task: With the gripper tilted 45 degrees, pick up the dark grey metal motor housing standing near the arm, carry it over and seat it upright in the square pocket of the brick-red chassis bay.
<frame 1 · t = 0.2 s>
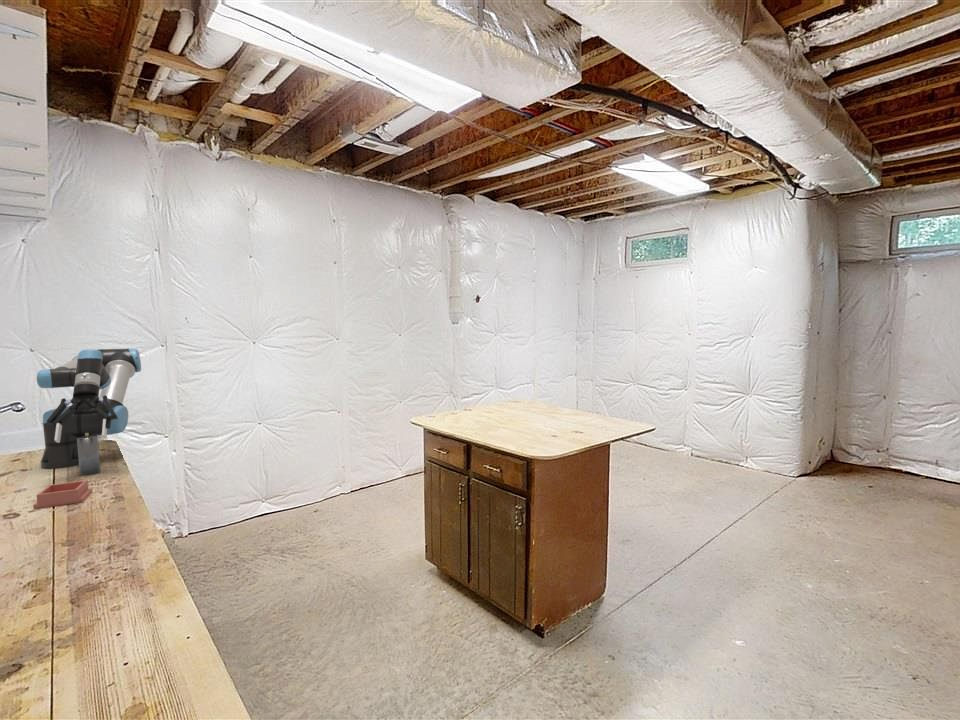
hand: (81, 439, 171), 15 cm above the workbench, tool tilted 35°, fingers open, 13 cm apart
chassis bay: (64, 499, 152), on the workbench
motor housing: (90, 472, 179), on the workbench
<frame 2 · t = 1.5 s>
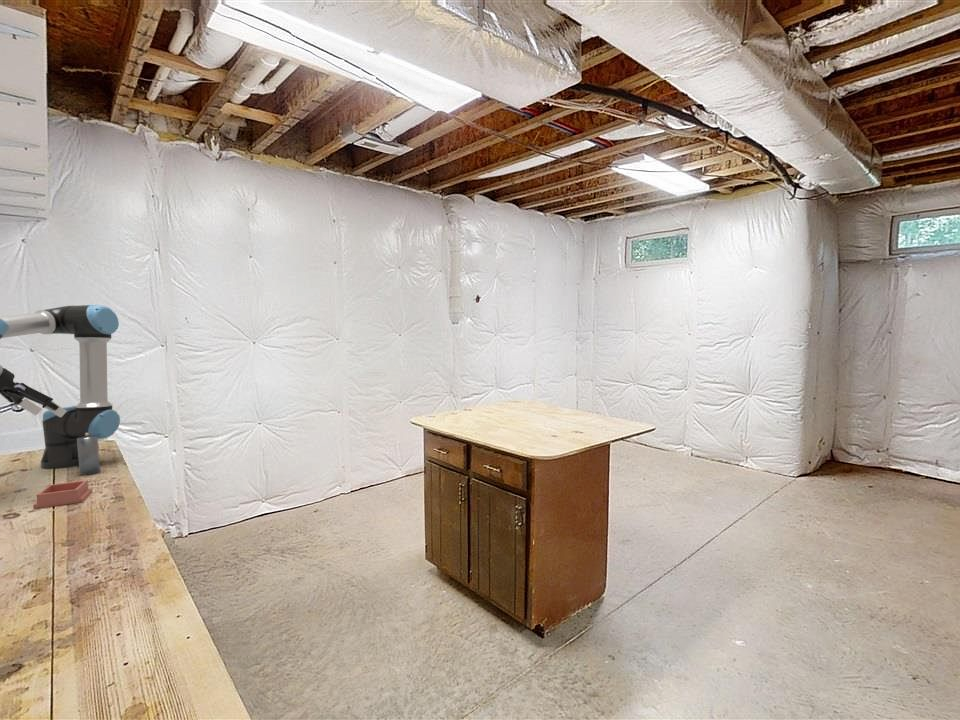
hand: (51, 413, 167), 25 cm above the workbench, tool tilted 45°, fingers open, 13 cm apart
nothing on the workbench moved.
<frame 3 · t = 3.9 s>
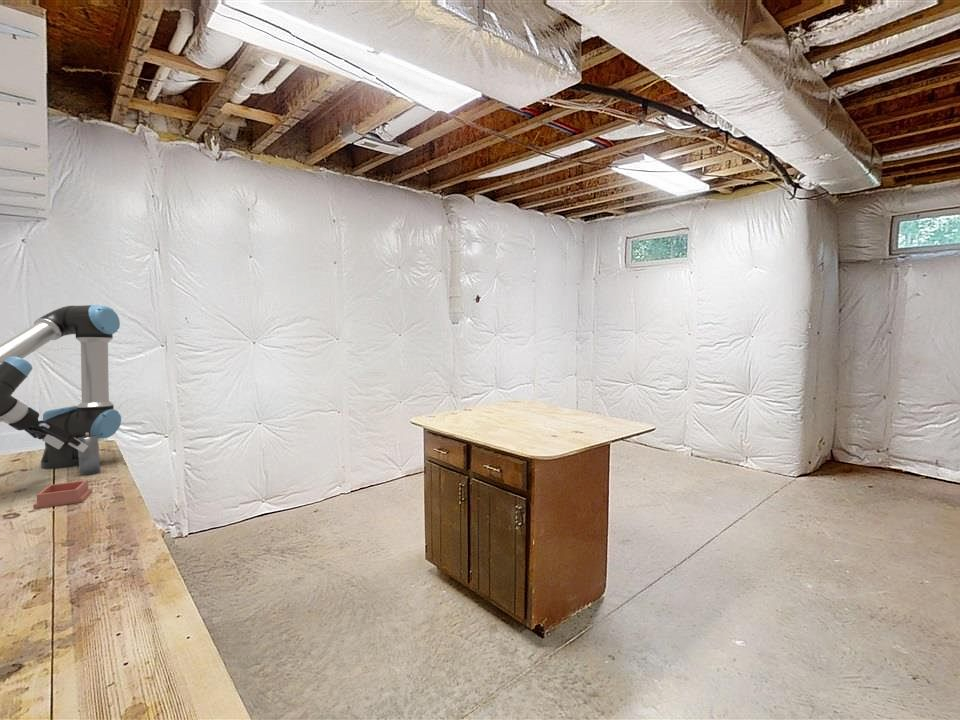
hand: (73, 447, 173), 11 cm above the workbench, tool tilted 45°, fingers open, 13 cm apart
nothing on the workbench moved.
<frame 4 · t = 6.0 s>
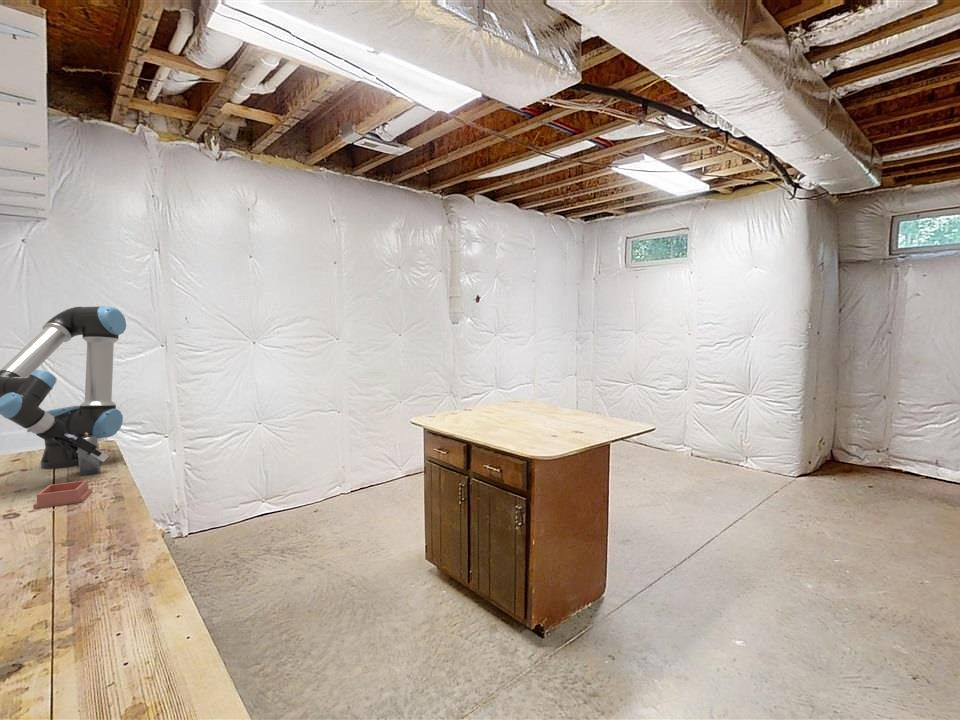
hand: (99, 458, 182), 5 cm above the workbench, tool tilted 45°, fingers closed on motor housing, 6 cm apart
motor housing: (90, 472, 179), on the workbench, touching gripper
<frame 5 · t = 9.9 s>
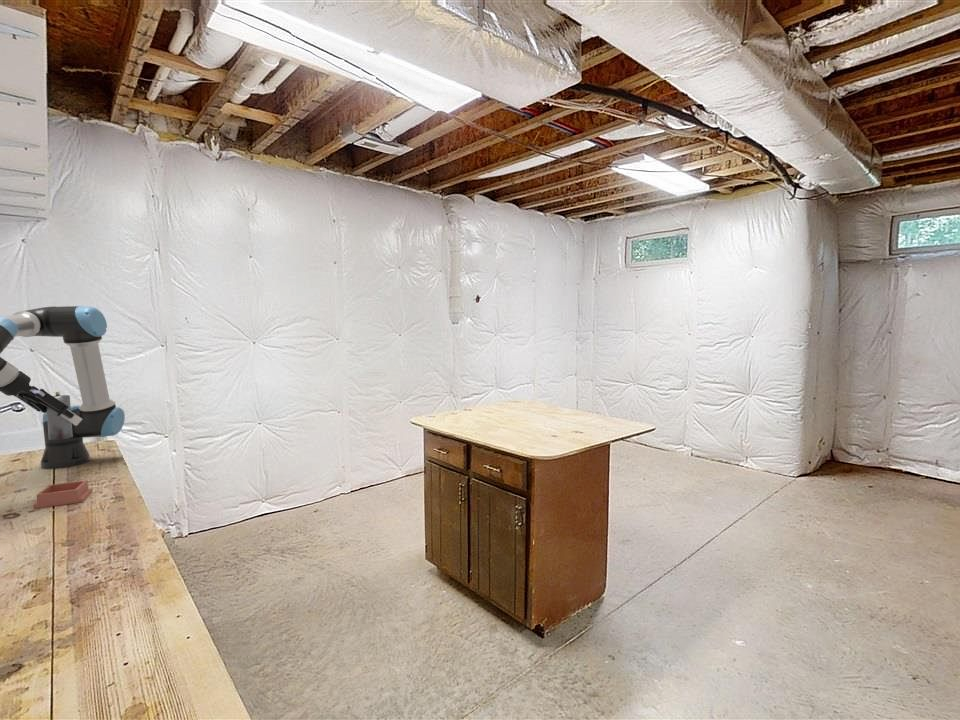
hand: (72, 421, 160), 24 cm above the workbench, tool tilted 45°, fingers closed on motor housing, 6 cm apart
motor housing: (60, 437, 157), point 19 cm above the workbench, touching gripper
when the fingers open (7 cm above the workbench, at t = 13.4 s): motor housing drops 1 cm, resting on chassis bay.
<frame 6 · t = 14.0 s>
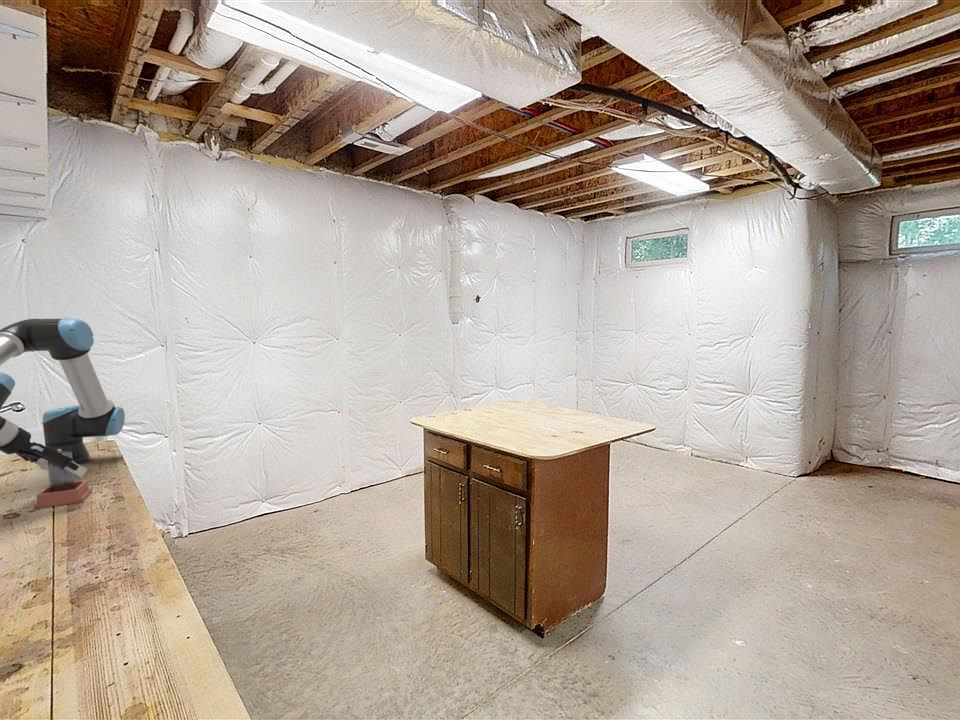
hand: (70, 471, 153), 9 cm above the workbench, tool tilted 45°, fingers open, 13 cm apart
motor housing: (63, 496, 152), point 1 cm above the workbench, touching chassis bay
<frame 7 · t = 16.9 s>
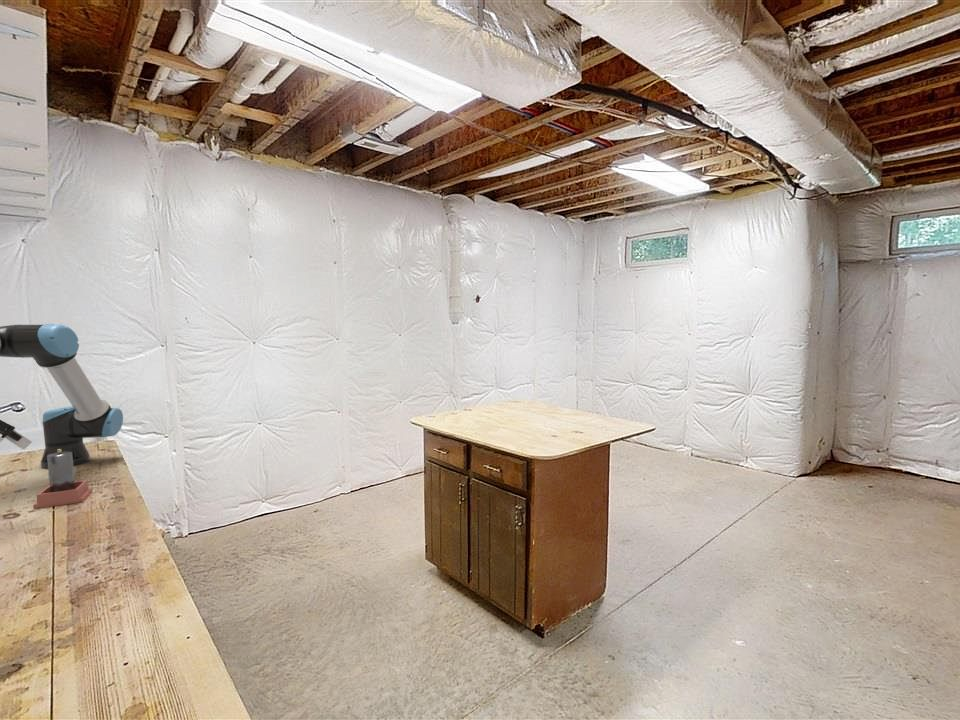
hand: (13, 444, 141), 21 cm above the workbench, tool tilted 40°, fingers open, 13 cm apart
nothing on the workbench moved.
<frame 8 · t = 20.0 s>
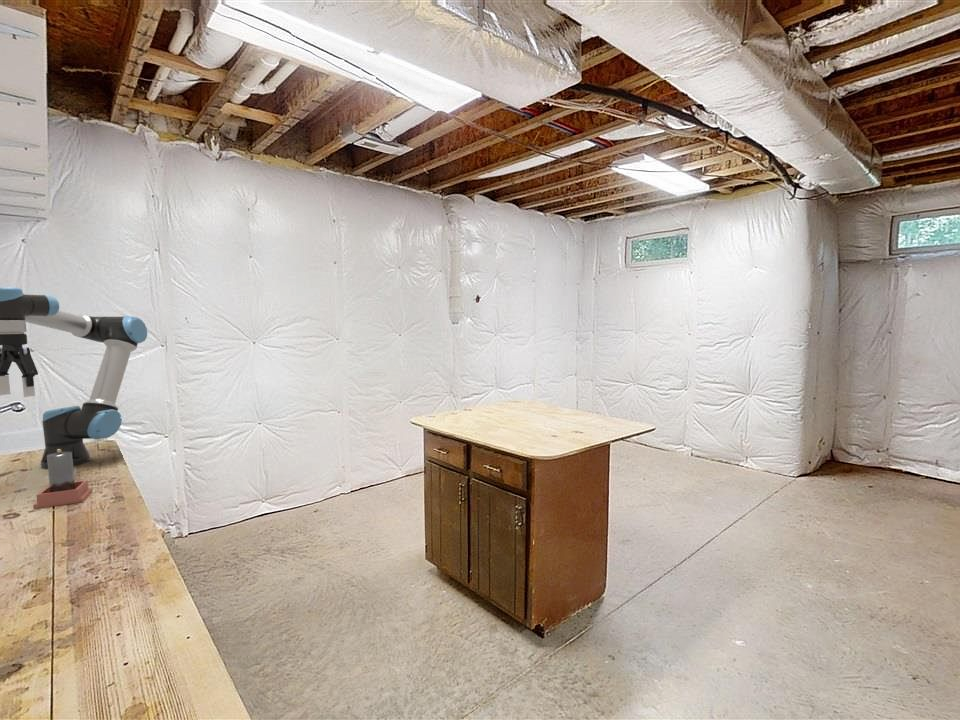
hand: (17, 395, 160), 33 cm above the workbench, tool pointing down, fingers open, 13 cm apart
nothing on the workbench moved.
at the end: motor housing 0.1 cm off-centre on the chassis bay, point 1.3 cm above the chassis bay's base; motor housing tilted 1°; the gripper is holding nothing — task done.
